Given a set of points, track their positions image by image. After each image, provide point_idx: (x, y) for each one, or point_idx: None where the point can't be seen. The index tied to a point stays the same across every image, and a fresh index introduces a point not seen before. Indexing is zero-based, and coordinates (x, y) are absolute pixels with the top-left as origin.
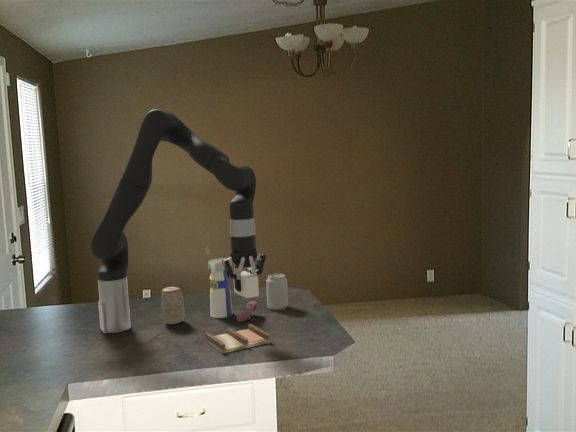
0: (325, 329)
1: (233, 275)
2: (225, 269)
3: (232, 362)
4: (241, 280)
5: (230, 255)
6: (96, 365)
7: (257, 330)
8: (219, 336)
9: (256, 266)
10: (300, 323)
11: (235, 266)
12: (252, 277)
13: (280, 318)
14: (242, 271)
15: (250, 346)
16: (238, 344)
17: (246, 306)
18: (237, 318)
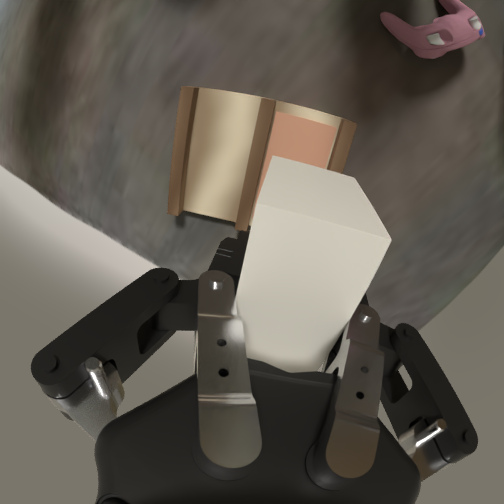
0: (455, 269)
1: (166, 332)
2: (100, 313)
3: (172, 260)
4: None
5: (95, 456)
6: (2, 103)
7: None
8: (226, 106)
9: (410, 367)
10: (472, 193)
11: (203, 350)
12: None
13: (479, 116)
14: (361, 238)
15: None
16: (228, 205)
17: (432, 26)
18: (382, 17)
